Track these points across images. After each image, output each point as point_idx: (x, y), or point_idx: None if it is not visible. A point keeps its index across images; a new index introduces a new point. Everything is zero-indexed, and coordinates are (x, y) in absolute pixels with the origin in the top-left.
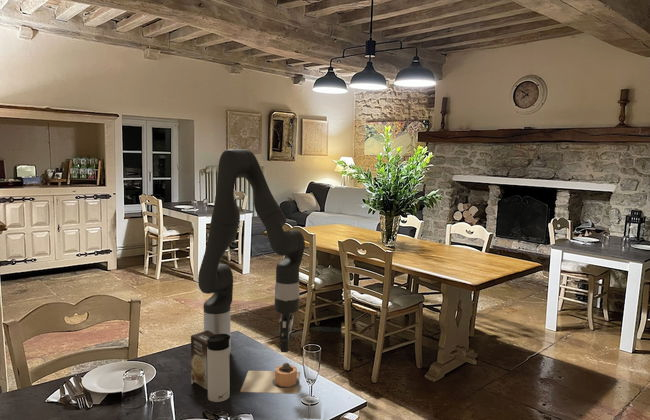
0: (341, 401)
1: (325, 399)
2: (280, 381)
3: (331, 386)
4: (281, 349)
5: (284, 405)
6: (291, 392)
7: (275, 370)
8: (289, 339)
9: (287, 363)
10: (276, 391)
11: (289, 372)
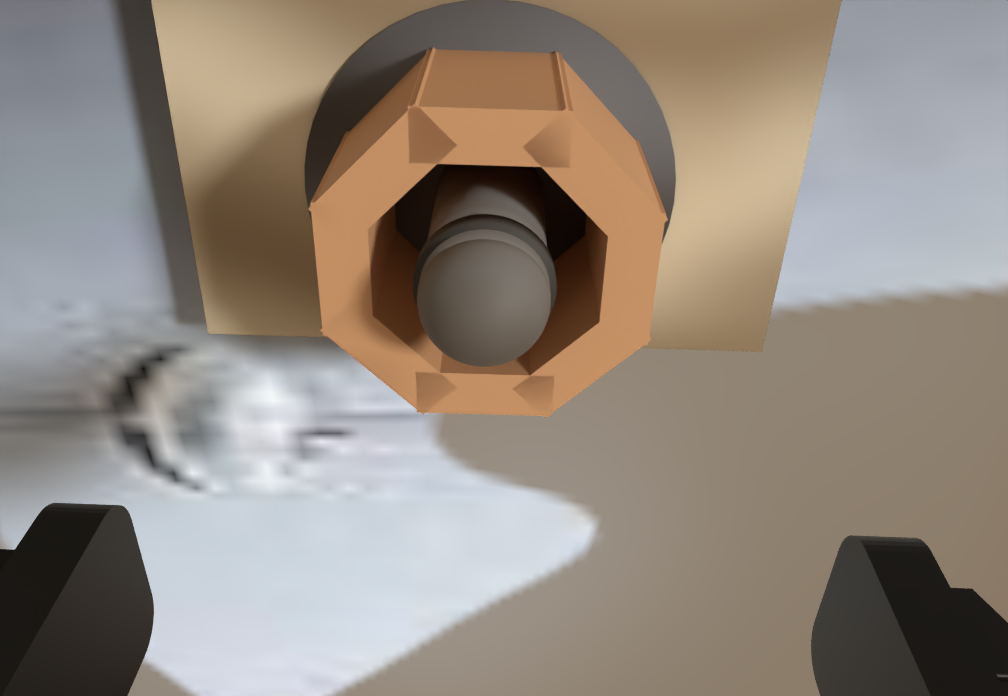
0: (246, 636)
1: (255, 537)
2: (334, 157)
3: (506, 583)
4: (31, 554)
5: (34, 183)
6: (218, 275)
7: (430, 107)
8: (821, 661)
9: (471, 353)
10: (203, 87)
11: (375, 331)
